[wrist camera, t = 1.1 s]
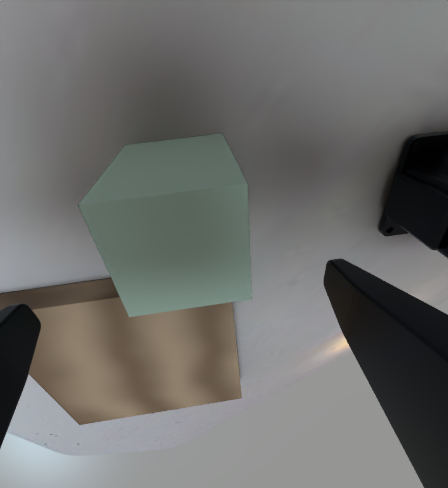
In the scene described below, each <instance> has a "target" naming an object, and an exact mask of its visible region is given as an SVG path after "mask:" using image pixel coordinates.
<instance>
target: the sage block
mask: <svg viewBox="0 0 448 488" xmlns="http://www.w3.org/2000/svg"><path fill="white" fill-rule="evenodd" d="M78 206H79V209H80V211H81V213H82V215H83V217H84V220H85V222H86V224H87V226H88V228H89V230H90V233H91V235H92V237H93V239H94V241H95V244H96V246H97V248H98V250H99V252H100V254H101V257H102V259H103V261H104V263H105V265H106V268H107V270H108V272H109V274H110V276H111V279H112V281H113V283H114V285H115V287H116V289H117V292H118V294H119V296H120V298H121V300H122V303H123V305H124V307H125V309H126V311H127V314H128V316H129V317H134V316H141V315H148V314H155V313H161V312H168V311H175V310H182V309H188V308H195V307H202V306H209V305H215V304H222V303H229V302H236V301H243V300H249V299H252V290H251V263H250V235H249V207H248V183H247V181H246V179H245V177H244V175H243V173H242V171H241V169H240V167H239V165H238V163H237V161H236V159H235V157H234V155H233V154H232V152H231V150H230V148H229V146H228V144H227V142H226V140H225V138H224V136H223V134H222V133H221V134H213V135H205V136H196V137H188V138H179V139H171V140H163V141H154V142H146V143H137V144H129V145H125V146H124V147H123V149H122V150H121V151H120V153H119V154H118V155H117V156H116V158H115V159H114V160H113V161H112V163H111V164H110V165H109V166H108V168H107V169H106V170H105V172H104V173H103V174H102V175H101V177H100V178H99V179H98V180H97V182H96V183H95V184H94V185H93V187H92V188H91V189H90V191H89V192H88V193H87V194H86V196H85V197H84V198H83V199H82V201H81V202H80V203H79V205H78Z"/></svg>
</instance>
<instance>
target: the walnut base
mask: <svg viewBox="0 0 448 488" xmlns="http://www.w3.org/2000/svg"><path fill="white" fill-rule="evenodd" d="M20 303H25V304H27V305H28V306H29V307H30V308H31V309H32V311H33V312H34V313H35V315H36V316H37V317H38V319H39V320H40V322H41V330H40V334H39V337H38V341H37V345H36V348H35V352H34V356H33V359H32V363H31V366H30V370H29V373H28V374H29V375H30V376H31V377H32V378H33V379H34V380H35V381H36V382H37V383H38V384H39V385H40V386H41V387H42V388H43V389H44V390H45V391H46V392H47V393H48V394H49V395H50V396H51V397H52V398H53V399H54V400H55V401H56V402H57V403H58V404H59V405H60V406H61V407H62V408H63V409H64V410H65V411H66V412H67V413H68V414H69V415H70V416H71V417H72V418H73V419H74V420H75V421H76V422H77V423H78V424H79V425H82V424H88V423H94V422H100V421H106V420H112V419H118V418H124V417H131V416H137V415H143V414H149V413H155V412H161V411H167V410H173V409H179V408H185V407H191V406H197V405H203V404H209V403H216V402H222V401H228V400H234V399H240V398H242V395H241V385H240V375H239V365H238V355H237V346H236V336H235V326H234V316H233V306H232V302H229V303H222V304H215V305H209V306H202V307H195V308H188V309H182V310H175V311H168V312H161V313H155V314H148V315H141V316H134V317H129V316H128V314H127V311H126V309H125V307H124V305H123V303H122V300H121V298H120V296H119V294H118V292H117V289H116V287H115V285H114V283H113V281H112V279H111V278H108V279H101V280H94V281H87V282H80V283H73V284H66V285H59V286H52V287H45V288H37V289H30V290H23V291H16V292H9V293H2V294H0V311H1V310H2V309H4V308H5V307H7V306H9V305H13V304H20Z"/></svg>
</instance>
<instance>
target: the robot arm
mask: <svg viewBox="0 0 448 488" xmlns="http://www.w3.org/2000/svg"><path fill="white" fill-rule="evenodd" d="M416 143H417V145H416V147H415V148H414V149H413V147H414V145H415V144H416ZM379 231H380V233H382V234H383V235H384V236H392V235H400V234H407V233H410V234H411V235H413V236H414V237H415V238H417V239H418V240H419V241H421V242H422V243H423V244H425V245H426V246H427V247H428V248H430V249H431V250H437V251H439V252H440V253H441V254H443V255H444V256H445V257H447V258H448V132H439V133H431V134H423V135H415V136H412V137H411V138H409V139H408V140H407V142H406V143H405V145H404V148H403V151H402V155H401V158H400V161H399V165H398V168H397V171H396V174H395V178H394V181H393V184H392V188H391V191H390V194H389V197H388V201H387V204H386V207H385V210H384V214H383V217H382V220H381V224H380V227H379ZM324 287H325V290H326V292H327V295H328V297H329V300H330V302H331V305H332V308H333V310H334V313H335V315H336V318H337V320H338V323H339V325H340V328H341V330H342V332H343V334H344V336H345V338H346V340H347V342H348V344H349V346H350V348H351V350H352V352H353V354H354V355H355V357H356V359H357V361H358V363H359V365H360V367H361V369H362V370H363V373H364V374H365V376H366V378H367V380H368V382H369V384H370V386H371V388H372V390H373V391H374V393H375V395H376V397H377V399H378V401H379V403H380V405H381V407H382V409H383V410H384V412H385V414H386V416H387V418H388V420H389V422H390V424H391V426H392V428H393V429H394V431H395V433H396V435H397V437H398V439H399V441H400V443H401V445H402V446H403V448H404V450H405V452H406V454H407V456H408V458H409V460H410V462H411V464H412V466H413V467H414V469H415V471H416V473H417V475H418V477H419V479H420V481H421V483H422V484H423V486H424V488H448V315H447V314H445V313H443V312H441V311H440V310H438V309H436V308H434V307H432V306H430V305H429V304H427V303H425V302H423V301H421V300H419V299H417V298H415V297H413V296H412V295H410V294H408V293H406V292H404V291H402V290H400V289H398V288H397V287H395V286H393V285H391V284H389V283H387V282H385V281H383V280H381V279H380V278H378V277H376V276H374V275H372V274H370V273H368V272H366V271H365V270H363V269H361V268H359V267H357V266H355V265H353V264H351V263H349V262H348V261H346V260H344V259H334V260H329V261H328V262H327V264H326V270H325V275H324ZM40 330H41V322H40V320H39V319H38V317H37V316H36V315H35V313H34V312H33V311H32V309H31V308H30V307H29V306H28V305H27V304H25V303H20V304H13V305H9V306H7V307H5V308H4V309H2V310H1V311H0V448H1V445H2V442H3V440H4V437H5V435H6V432H7V430H8V427H9V425H10V422H11V419H12V417H13V414H14V412H15V409H16V406H17V404H18V401H19V399H20V396H21V393H22V391H23V388H24V385H25V383H26V380H27V377H28V373H29V370H30V366H31V363H32V359H33V356H34V352H35V348H36V345H37V341H38V337H39V334H40Z"/></svg>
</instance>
